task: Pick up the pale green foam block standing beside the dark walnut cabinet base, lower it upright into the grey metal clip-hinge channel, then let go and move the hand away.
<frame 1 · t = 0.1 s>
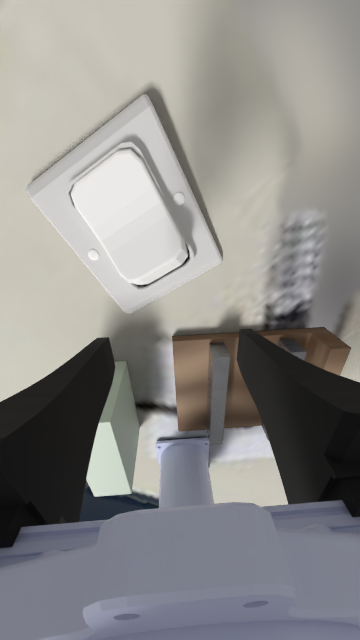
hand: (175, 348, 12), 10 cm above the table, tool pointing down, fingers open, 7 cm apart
pale green foam block: (118, 398, 27), on the table
light switch: (136, 227, 19), on the table
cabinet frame: (242, 381, 27), on the table
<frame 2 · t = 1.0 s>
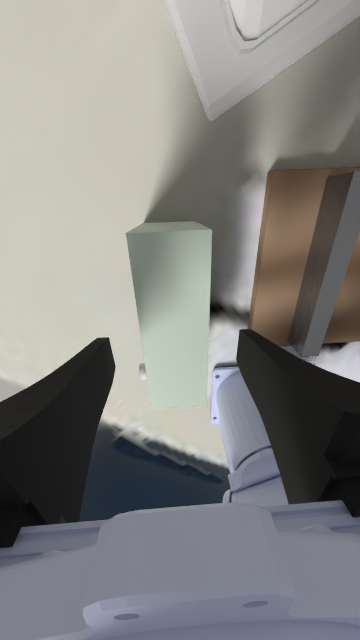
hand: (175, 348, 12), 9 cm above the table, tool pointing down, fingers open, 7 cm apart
pale green foam block: (172, 292, 20), on the table
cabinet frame: (346, 268, 19), on the table
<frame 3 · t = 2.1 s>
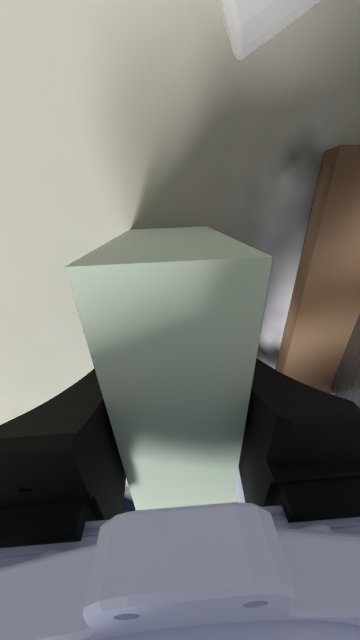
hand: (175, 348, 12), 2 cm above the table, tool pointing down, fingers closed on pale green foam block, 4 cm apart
pale green foam block: (174, 326, 14), on the table, touching gripper
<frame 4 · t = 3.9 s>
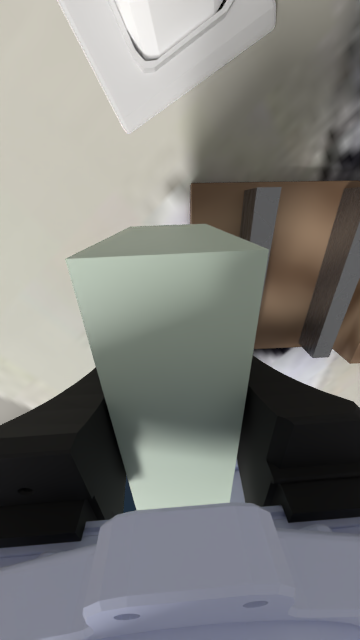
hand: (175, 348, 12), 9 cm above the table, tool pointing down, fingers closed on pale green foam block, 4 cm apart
pale green foam block: (173, 324, 14), point 7 cm above the table, touching gripper
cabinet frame: (279, 276, 20), on the table
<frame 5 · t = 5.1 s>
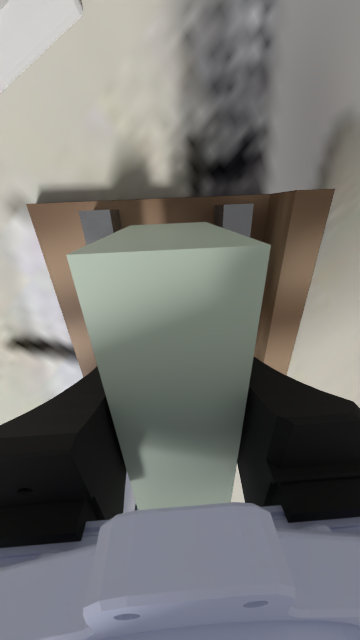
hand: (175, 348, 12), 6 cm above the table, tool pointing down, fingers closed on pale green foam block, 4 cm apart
pale green foam block: (174, 323, 14), point 4 cm above the table, touching gripper
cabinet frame: (172, 303, 17), on the table
when the fingers open (4 cm above the table, at t = 5.9 s): pale green foam block stays where it is, resting on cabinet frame.
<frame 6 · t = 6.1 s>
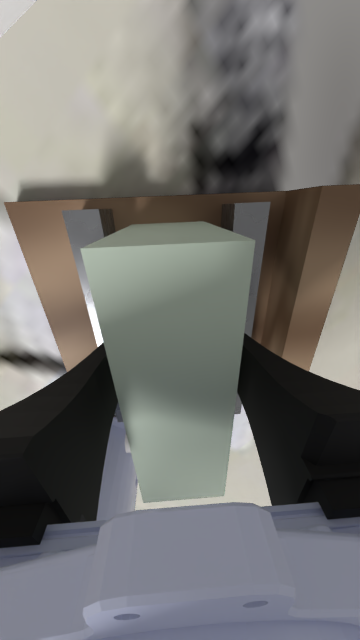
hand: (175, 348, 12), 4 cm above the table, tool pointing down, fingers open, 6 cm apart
pale green foam block: (173, 317, 15), point 1 cm above the table, touching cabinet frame
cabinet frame: (173, 313, 16), on the table
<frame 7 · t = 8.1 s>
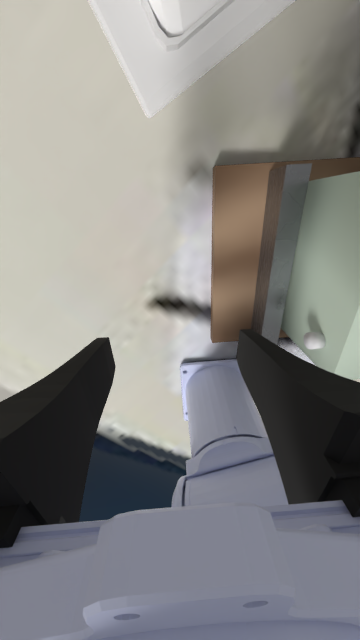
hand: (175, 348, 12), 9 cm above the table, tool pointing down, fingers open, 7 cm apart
pale green foam block: (310, 262, 18), point 1 cm above the table, touching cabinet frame
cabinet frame: (303, 261, 19), on the table
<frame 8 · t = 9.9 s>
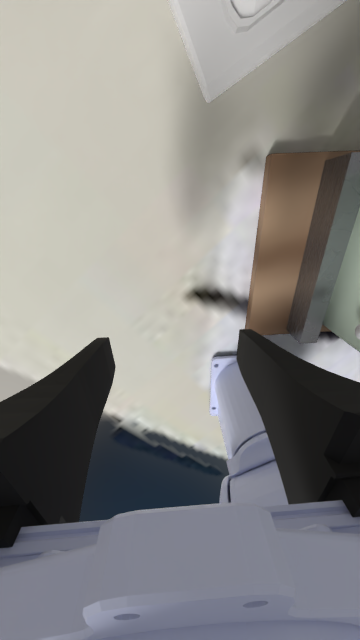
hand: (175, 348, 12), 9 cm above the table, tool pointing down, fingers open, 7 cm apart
pale green foam block: (354, 255, 18), point 1 cm above the table, touching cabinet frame
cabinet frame: (345, 255, 19), on the table
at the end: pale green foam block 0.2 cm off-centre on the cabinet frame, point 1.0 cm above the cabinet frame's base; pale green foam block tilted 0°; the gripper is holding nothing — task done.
